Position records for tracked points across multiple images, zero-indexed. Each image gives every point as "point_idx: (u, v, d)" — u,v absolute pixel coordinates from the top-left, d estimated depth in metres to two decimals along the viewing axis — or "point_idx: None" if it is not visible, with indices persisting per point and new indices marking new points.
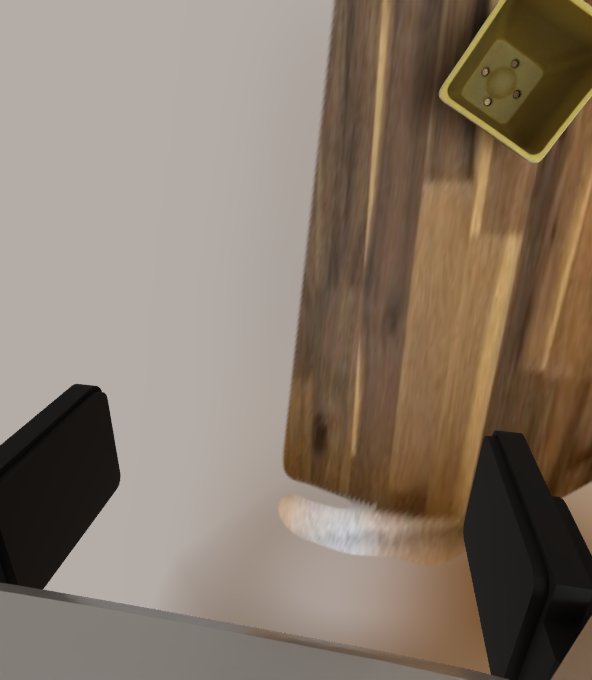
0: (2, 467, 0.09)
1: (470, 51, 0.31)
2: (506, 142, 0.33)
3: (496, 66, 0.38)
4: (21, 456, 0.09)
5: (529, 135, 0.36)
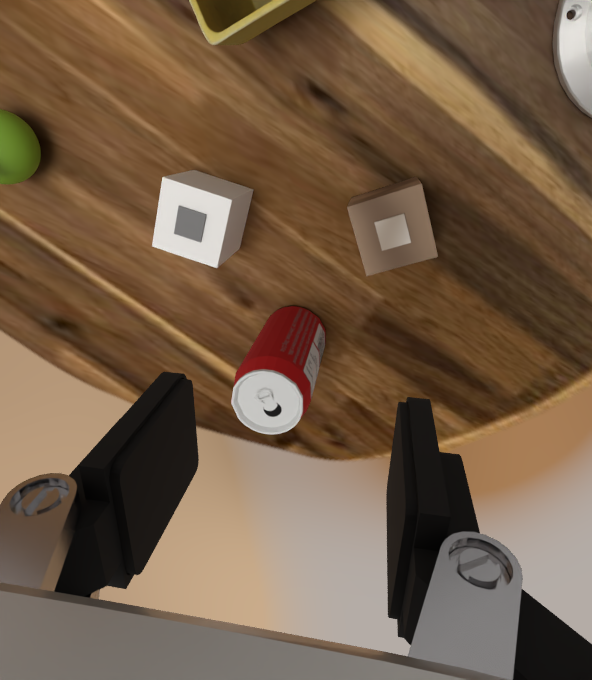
0: (123, 445, 0.09)
1: None
2: None
3: None
4: (135, 436, 0.10)
5: None
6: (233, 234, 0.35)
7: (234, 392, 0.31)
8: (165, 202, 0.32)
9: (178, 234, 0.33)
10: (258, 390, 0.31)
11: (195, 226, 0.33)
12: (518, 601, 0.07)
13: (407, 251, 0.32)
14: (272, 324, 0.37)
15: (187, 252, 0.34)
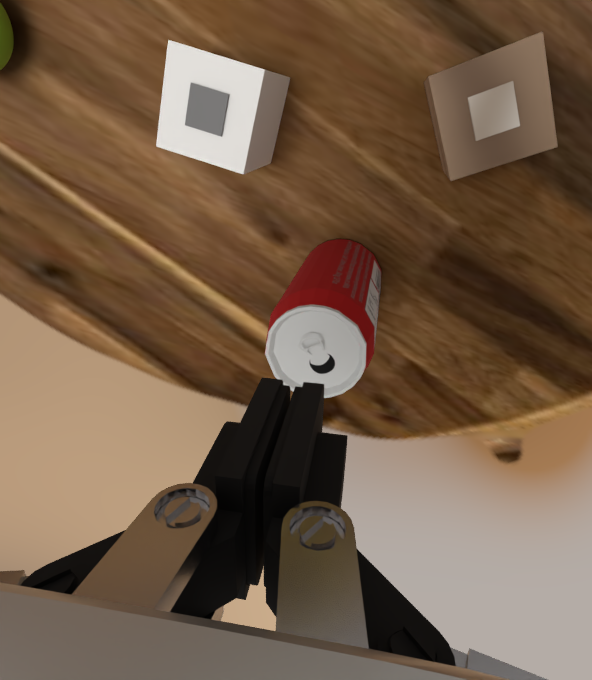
0: (252, 454, 0.09)
1: None
2: None
3: None
4: (258, 444, 0.09)
5: None
6: (264, 133, 0.26)
7: (269, 338, 0.22)
8: (172, 79, 0.24)
9: (191, 126, 0.24)
10: (302, 336, 0.22)
11: (214, 112, 0.24)
12: (354, 549, 0.07)
13: (512, 140, 0.23)
14: (315, 257, 0.28)
15: (204, 152, 0.25)
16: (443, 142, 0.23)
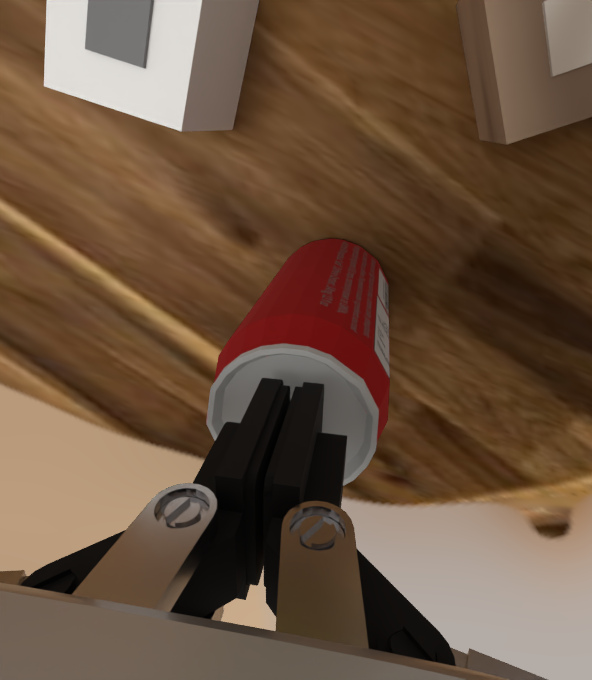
0: (251, 454, 0.09)
1: None
2: None
3: None
4: (258, 444, 0.09)
5: None
6: (218, 74, 0.17)
7: (213, 399, 0.13)
8: None
9: (95, 50, 0.15)
10: None
11: (130, 26, 0.15)
12: (355, 549, 0.07)
13: None
14: (295, 264, 0.19)
15: (118, 95, 0.16)
16: (498, 80, 0.15)
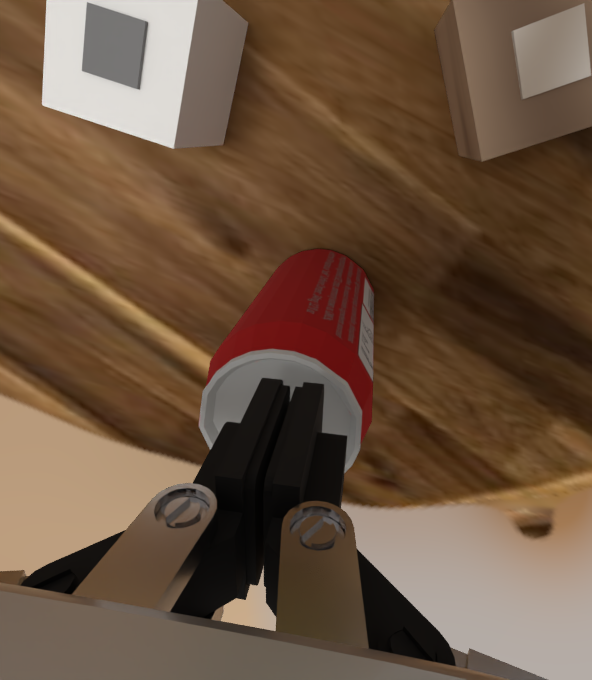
0: (251, 454, 0.09)
1: None
2: None
3: None
4: (258, 444, 0.09)
5: None
6: (209, 94, 0.18)
7: (205, 403, 0.14)
8: None
9: (91, 72, 0.16)
10: None
11: (125, 50, 0.15)
12: (355, 549, 0.07)
13: (577, 100, 0.15)
14: (284, 273, 0.20)
15: (113, 114, 0.16)
16: (472, 102, 0.16)
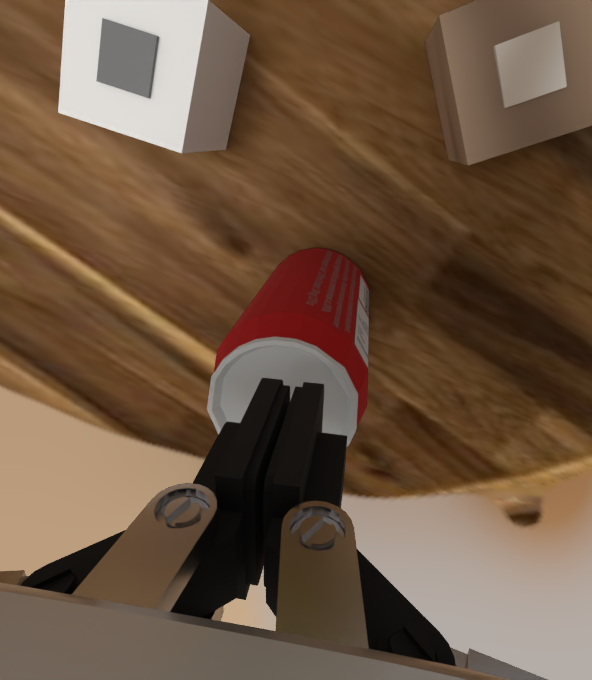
0: (252, 454, 0.09)
1: None
2: None
3: None
4: (258, 444, 0.09)
5: None
6: (214, 102, 0.19)
7: (213, 387, 0.15)
8: (76, 14, 0.16)
9: (105, 82, 0.17)
10: None
11: (137, 62, 0.17)
12: (354, 549, 0.07)
13: (555, 108, 0.16)
14: (284, 270, 0.21)
15: (125, 121, 0.18)
16: (458, 111, 0.17)
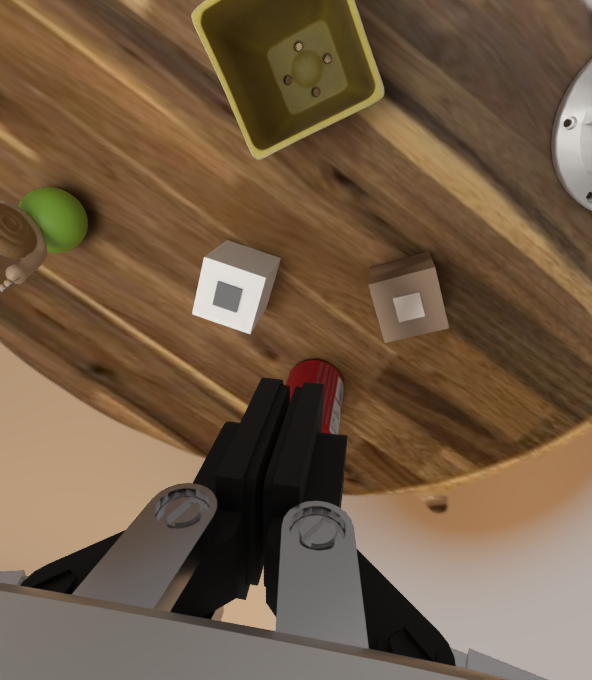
0: (251, 454, 0.09)
1: None
2: None
3: (325, 72, 0.34)
4: (258, 444, 0.09)
5: (235, 51, 0.31)
6: (263, 301, 0.39)
7: None
8: (205, 278, 0.36)
9: (216, 305, 0.37)
10: None
11: (232, 299, 0.36)
12: (354, 549, 0.07)
13: (421, 323, 0.36)
14: (297, 380, 0.41)
15: (224, 319, 0.38)
16: (379, 320, 0.37)
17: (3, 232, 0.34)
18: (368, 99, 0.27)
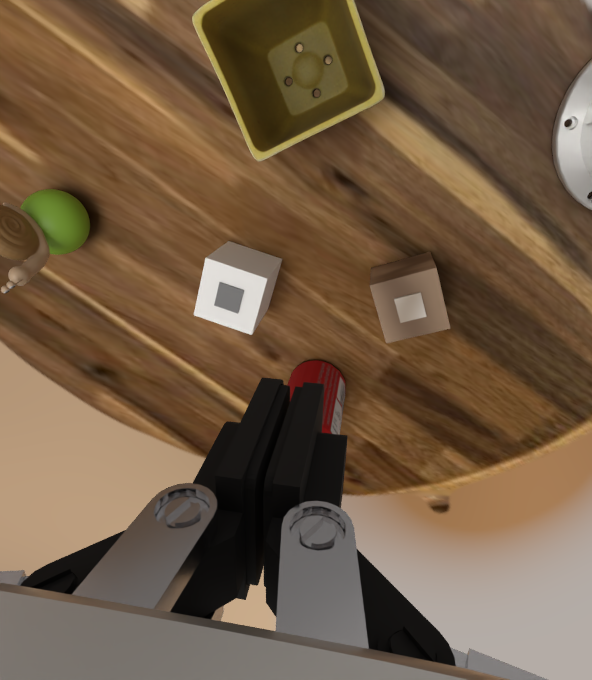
0: (251, 454, 0.09)
1: None
2: None
3: (325, 73, 0.34)
4: (258, 444, 0.09)
5: (235, 53, 0.31)
6: (265, 302, 0.39)
7: None
8: (207, 278, 0.36)
9: (218, 306, 0.37)
10: None
11: (233, 300, 0.37)
12: (355, 549, 0.07)
13: (423, 323, 0.36)
14: (299, 380, 0.41)
15: (225, 320, 0.38)
16: (380, 321, 0.37)
17: (6, 234, 0.34)
18: (368, 100, 0.27)
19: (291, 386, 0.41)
